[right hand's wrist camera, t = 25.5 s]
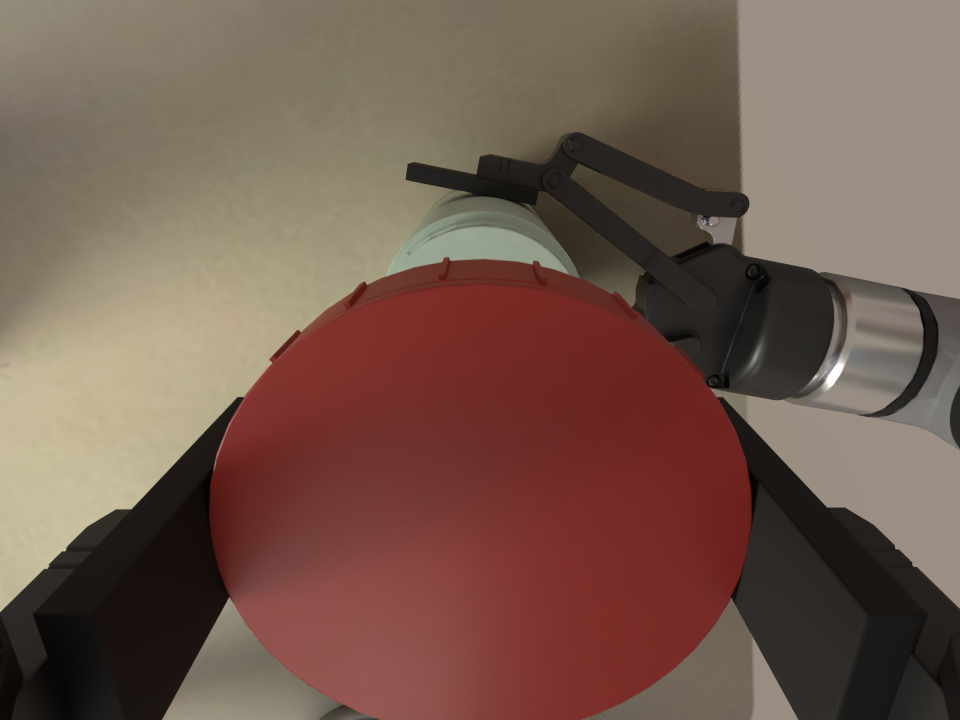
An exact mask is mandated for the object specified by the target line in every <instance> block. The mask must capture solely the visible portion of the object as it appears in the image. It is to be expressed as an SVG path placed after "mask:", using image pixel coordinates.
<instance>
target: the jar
mask: <svg viewBox="0 0 960 720" xmlns="http://www.w3.org/2000/svg"><path fill="white" fill-rule="evenodd" d="M445 257H449V258H450V261H453V260H472V259H492V260H505V261H518V262H523V263H528V264H533V261H539V263H540V265H541V266H542V267H546V268H551V269H554V270H557V271H560V272H563V273H566V274H569V275H571V276H574V277H577V278H579V275H578V273H577V271H576V268H575V266H574V264H573V263H572V261H571V259H570V257H569V256H568V254H567V253H566V252H565V250H564V249H563V248H562V246H561V245H560V244H559V242H558V241H557V240H556V238H555V237H554V236H553V235H552V233H551V232H550V231H549V229H548V228H547V227H546V225H545V224H544V223H543V221H542V220H541V219H540V218H539V216H538V215H537V214H536V212H535V211H534V210H533V209H532V207H531V206H530V205H529V204H524V203H519V202H514V201H509V200H504V199H499V198H494V197H489V196H484V195H479V194H474V193H469V192H464V191H459V190H456V191H454V192H452V193H450V194H448V195H447V196H445V197H444V198H442V199H441V200H440V201H439V202H437V203H436V204H435V205H434V206H433V207H432V209H431V210H430V211H429V212H428V213H427V215H426V216H425V217H424V219H423V220H422V221H421V223H420V224H419V226H418V227H417V228H416V230H415V231H414V232H413V234H412V235H411V236H410V238H409V239H408V240H407V242H406V243H405V244H404V246H403V247H402V248H401V250H400V251H399V252H398V254H397V256H396V257H395V259H394V260H393V262H392V263H391V266H390V268H389V270H388V272H387V274H386V276H389V275H392V274H395V273H398V272H401V271H404V270H407V269H411V268H414V267H418V266H423V265H429V264H434V263H439V262H443V259H444V258H445Z"/></svg>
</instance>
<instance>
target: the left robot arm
mask: <svg viewBox="0 0 960 720" xmlns="http://www.w3.org/2000/svg"><path fill="white" fill-rule="evenodd" d="M578 163H579V164H581V165H584V166H586V167H588V168H590V169H592V170H594V171H597V172H599V173H601V174H603V175H605V176H608V177H610V178H612V179H614V180H616V181H619V182H621V183H623V184H625V185H627V186H629V187H632V188H634V189H636V190H638V191H640V192H643V193H645V194H647V195H649V196H651V197H654V198H656V199H658V200H660V201H662V202H664V203H667V204H669V205H671V206H674V207H676V208H679V209H682V210H685V211H688V212H691V213H692V215H691V221H692V224H693V225H694V226H695V227H697V228H699V229H702V230H704V231H705V233H706V235H707V241H706V242H704V243H701V244H699V245H697V246H695V247H692V248H690V249H688V250H686V251H683V252H681V253H679V254H677V255H674V256H672V257H670V258H669V257H668V256H667V255H666V254H665V253H663V252H662V251H661V250H659V249H658V248H657V247H655V246H654V245H653V244H651V243H650V242H649V241H648V240H647V239H645V238H644V237H643V236H642V235H640V234H639V233H638V232H637V231H635V230H634V229H633V228H632V227H631V226H629V225H628V224H627V223H626V222H624V221H623V220H622V219H621V218H619V217H618V216H617V215H616V214H615V213H613V212H612V211H611V210H610V209H608V208H607V207H606V206H605V205H603V204H602V203H601V202H600V201H598V200H597V199H596V198H595V197H594V196H592V195H591V194H590V193H589V192H587V191H586V190H585V189H584V188H582V187H581V186H580V185H579V184H578V183H576V182H575V181H574V180H573V179H571V178H570V175H571V174H572V172H573V170H574V169H575V167H576V166H577V164H578ZM406 180H409V181H414V182H419V183H424V184H429V185H434V186H439V187H444V188H449V189H454V190H459V191H464V192H469V193H474V194H479V195H484V196H489V197H494V198H499V199H504V200H509V201H514V202H519V203H524V204H529V205H534V206H535V205H536V200H537V196H538V191H544V192H548V193H549V194H550V195H552V196H553V197H554V198H555V199H557V200H558V201H559V202H560V203H562V204H563V205H564V206H565V207H567V208H568V209H569V210H570V211H572V212H573V213H574V214H575V215H577V216H578V217H579V218H580V219H582V220H583V221H584V222H585V223H587V224H588V225H589V226H591V227H592V228H593V229H594V230H596V231H597V232H598V233H599V234H601V235H602V236H603V237H604V238H606V239H607V240H608V241H609V242H611V243H612V244H613V245H614V246H616V247H617V248H618V249H619V250H621V251H622V252H623V253H624V254H626V255H627V256H628V257H629V258H631V259H632V260H633V261H634V262H636V263H637V264H638V265H640V266H641V267H642V268H643V269H645V270H646V272H645V273H644V275H643V276H642V275H640V276H639V279H638V283H637V286H636V302H635V304H634V306H633V307H632V309H634V310H635V311H636V312H638V313H639V314H641V315H642V316H643V317H644V318H645V319H646V320H647V321H648V322H649V323H650V324H651V325H652V326H653V327H654V328H655V329H656V330H657V331H658V332H659V333H660V334H662V335H663V336H664V338H665V339H666V340H667V341H668V342H669V343H670V344H671V345H672V346H674V345H677V346H678V347H679V348H680V349H681V350H682V351H683V352H684V353H685V354H686V355H687V357H688V358H689V359H690V360H691V361H692V362H693V363H694V364H695V365H696V366H697V367H698V368H699V369H700V370H701V371H702V372H703V373H704V375H705V377H704V378H702V379H703V380H704V382H705V383H706V384H707V386H708V387H709V388H713V389H717V390H721V391H727V392H732V393H738V394H743V395H749V396H754V397H760V398H766V399H771V400H783V399H784V400H785V401H787V402H790V403H792V404H797V405H803V406H809V407H815V408H821V409H827V410H833V411H839V412H845V413H852V414H857V415H860V416H865V417H873V418H878V419H883V420H888V421H894V422H898V423H903V424H908V425H913V426H916V427H919V428H922V429H925V430H928V431H930V432H932V433H934V434H935V435H937V436H938V437H940V438H941V439H943V440H944V441H946V442H948V443H949V444H951V445H952V446H954V447H955V448H957V449H958V450H960V299H956V298H950V297H944V296H939V295H933V294H928V293H922V292H917V291H911V290H908V289H905V288H900V287H896V286H891V285H886V284H881V283H876V282H871V281H867V280H862V279H857V278H852V277H847V276H842V275H837V274H832V273H826V272H822V273H817V272H816V271H814V270H812V269H808V268H803V267H798V266H793V265H788V264H783V263H778V262H773V261H768V260H763V259H758V258H753V257H748V256H744V255H742V254H741V253H740V252H739V251H738V250H737V249H736V248H735V247H733V246H732V241H733V236H734V231H735V226H736V221H737V217H741V216H742V215H744V214H745V213H746V212H747V210H748V208H749V200H748V197H747V196H746V195H745V194H741V193H737V192H732V191H727V190H722V189H706V188H698V187H696V186H694V185H692V184H690V183H687V182H685V181H683V180H681V179H679V178H677V177H675V176H672V175H670V174H668V173H666V172H664V171H662V170H660V169H657V168H655V167H653V166H651V165H649V164H647V163H644V162H642V161H640V160H638V159H636V158H634V157H632V156H629V155H627V154H625V153H623V152H621V151H619V150H617V149H614V148H612V147H610V146H608V145H606V144H604V143H601V142H599V141H597V140H595V139H593V138H591V137H589V136H586V135H584V134H582V133H578V132H575V133H567V134H564V135H563V136H562V137H561V138H560V139H559V142H558V144H557V146H556V148H555V149H554V151H553V153H552V154H551V156H550V157H549V158H548V159H547V160H546V161H544V162H542V163H531V162H526V161H521V160H516V159H511V158H506V157H501V156H497V155H492V154H489V155H484V156H480V159H479V165H478V170H477V175H475V174H471V173H466V172H461V171H456V170H451V169H446V168H441V167H436V166H431V165H426V164H421V163H416V162H413V163H409V164H408V167H407V174H406ZM320 720H380V719H377V718H374V717H371V716H369V715H366V714H363V713H360V712H358V711H356V710H354V709H352V708H350V707H347V706H343V707H340V708H338V709H336V710H334V711H332V712H330V713H328V714H327V715H325V716H324V717H323V718H321V719H320Z"/></svg>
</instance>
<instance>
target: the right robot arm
mask: <svg viewBox="0 0 960 720" xmlns="http://www.w3.org/2000/svg"><path fill="white" fill-rule="evenodd" d="M717 398H718V400H719V401H720V403H721V405H722V407H723V409H724V410H725V412H726V414H727V416H728V418H729V419H730V421H731V423H732V425H733V427H734V428H735V431H736V433H737V436H738V439H739V442H740V445H741V447H742V450H743V453H744V456H745V459H746V463H747V468H748V474H749V479H750V485H751V490H752V526H751V532H750V537H749V543H748V548H747V553H746V557H745V562H744V566H743V569H742V573H741V576H740V579H739V581H738V583H737V585H736V588H735V590H734V592H733V594H732V596H731V598H732V600H733V601H734V603H735V605H736V607H737V609H738V611H739V612H740V614H741V616H742V618H743V620H744V621H745V623H746V625H747V627H748V629H749V631H750V632H751V634H752V636H753V638H754V640H755V641H756V643H757V645H758V647H759V649H760V651H761V652H762V654H763V656H764V658H765V660H766V662H767V663H768V665H769V667H770V669H771V671H772V672H773V674H774V676H775V678H776V680H777V681H778V683H779V685H780V687H781V689H782V690H783V692H784V694H785V696H786V698H787V700H788V702H789V703H790V705H791V707H792V709H793V711H794V712H795V714H796V716H797V718H798V720H960V609H959V608H958V607H957V606H956V605H955V604H954V603H953V602H952V601H951V600H950V599H949V598H948V597H947V596H946V595H945V594H944V593H943V592H942V591H941V590H940V589H939V588H938V587H937V586H936V585H935V584H934V583H933V582H932V581H931V580H930V579H929V578H928V577H927V576H926V575H924V573H922V572H921V571H920V570H919V569H918V568H917V567H913V565H912V562H911V561H910V560H909V559H908V558H907V557H906V556H905V555H904V554H903V553H902V552H901V551H900V550H896V549H895V545H894V544H893V543H892V542H891V541H890V540H889V539H888V538H887V537H886V536H885V535H884V534H882V532H880V531H879V530H878V529H877V528H876V527H875V526H874V525H873V524H871V523H870V522H868V521H866V520H865V519H863V518H861V517H860V516H858V515H856V514H855V513H853V512H851V511H850V510H848V509H846V508H827V507H826V506H825V505H824V504H823V503H822V502H821V501H820V500H819V499H818V497H817V496H816V495H815V494H814V493H813V492H812V491H811V490H810V489H809V488H808V487H807V486H806V485H805V484H804V483H803V482H802V481H801V479H800V478H799V477H798V476H797V475H796V474H795V473H794V472H793V471H792V470H791V469H790V468H789V467H788V466H787V465H786V464H785V463H784V462H783V460H782V459H781V458H780V457H779V456H778V455H777V454H776V453H775V452H774V451H773V450H772V449H771V448H770V447H769V446H768V445H767V444H766V442H765V441H764V440H763V439H762V438H761V437H760V436H759V435H758V434H757V433H756V432H755V431H754V430H753V429H752V428H751V427H750V426H749V424H748V423H747V422H746V421H745V420H744V419H743V418H742V417H741V416H740V415H739V414H738V413H737V412H736V411H735V410H734V409H733V408H732V406H731V405H730V404H729V403H728V402H727V401H726V400H725V399H724V398H723V397H717ZM243 399H244V397H237V398H236V399H235V401H234V402H233V403H232V404H231V405H230V406H229V407H228V408H227V409H226V410H225V411H224V412H223V413H222V414H221V415H220V416H219V417H218V419H217V420H216V421H215V422H214V423H213V424H212V425H211V426H210V427H209V428H208V429H207V430H206V431H205V432H204V433H203V434H202V435H201V437H200V438H199V439H198V440H197V441H196V442H195V443H194V444H193V445H192V446H191V447H190V448H189V449H188V450H187V451H186V452H185V453H184V455H183V456H182V457H181V458H180V459H179V460H178V461H177V462H176V463H175V464H174V465H173V466H172V467H171V468H170V469H169V470H168V471H167V473H166V474H165V475H164V476H163V477H162V478H161V479H160V480H159V481H158V482H157V483H156V484H155V485H154V486H153V487H152V488H151V489H150V490H149V492H148V493H147V494H146V495H145V496H144V497H143V498H142V499H141V500H140V501H139V502H138V503H137V504H136V505H135V506H134V507H133V508H132V509H116V510H114V511H113V512H111V513H109V514H108V515H106V516H104V517H103V518H101V519H99V520H98V521H96V522H94V523H93V524H91V525H89V526H88V527H87V528H86V529H85V530H83V531H82V532H81V533H80V534H79V535H78V536H77V537H76V538H75V539H74V540H73V541H72V542H71V543H70V544H69V545H68V546H67V547H66V551H62V552H61V553H60V554H59V555H58V556H57V557H56V558H55V559H54V560H53V561H52V562H51V563H50V564H49V568H48V569H44V570H43V571H42V572H41V573H40V574H39V575H38V576H37V577H36V578H35V579H34V580H33V581H32V582H31V583H30V584H29V585H28V586H27V587H26V588H24V589H23V590H22V591H21V592H20V593H19V594H18V595H17V596H16V597H15V598H14V599H13V600H12V601H11V602H10V603H9V604H8V605H7V606H6V607H5V608H4V609H3V610H2V611H1V612H0V720H162V719H163V717H164V715H165V713H166V711H167V710H168V708H169V706H170V704H171V702H172V700H173V699H174V697H175V695H176V693H177V691H178V689H179V688H180V686H181V684H182V682H183V680H184V679H185V677H186V675H187V673H188V671H189V669H190V668H191V666H192V664H193V662H194V660H195V659H196V657H197V655H198V653H199V651H200V649H201V648H202V646H203V644H204V642H205V640H206V639H207V637H208V635H209V633H210V631H211V629H212V628H213V626H214V624H215V622H216V620H217V618H218V617H219V615H220V613H221V611H222V609H223V608H224V606H225V604H226V602H227V600H228V598H229V597H230V596H229V594H228V592H227V589H226V587H225V585H224V582H223V580H222V578H221V575H220V573H219V570H218V566H217V562H216V558H215V554H214V549H213V544H212V539H211V532H210V523H209V499H210V483H211V478H212V474H213V469H214V465H215V460H216V455H217V452H218V450H219V447H220V444H221V442H222V439H223V437H224V434H225V432H226V429H227V427H228V424H229V422H230V421H231V419H232V417H233V416H234V414H235V412H236V411H237V409H238V407H239V405H240V404H241V402H242V400H243Z"/></svg>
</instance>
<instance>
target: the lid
mask: <svg viewBox="0 0 960 720" xmlns="http://www.w3.org/2000/svg"><path fill="white" fill-rule="evenodd" d="M269 360H270V361H271V362H272V364H271V365H270V366H269V367H268V369H267V370H266V371H265V372H264V373H263V375H262V376H261V377H260V378H259V379H258V381H257V382H256V383H255V384H254V386H253V387H252V388H251V389H250V390H249V392H248V393H247V394H246V395H245V397H244V399H243V400H242V402H241V404H240V405H239V407H238V409H237V411H236V412H235V414H234V416H233V417H232V419H231V421H230V422H229V424H228V427H227V429H226V432H225V434H224V437H223V439H222V442H221V444H220V447H219V450H218V452H217V455H216V460H215V465H214V469H213V474H212V478H211V483H210V499H209V523H210V532H211V539H212V544H213V549H214V554H215V558H216V562H217V566H218V570H219V573H220V575H221V578H222V580H223V582H224V585H225V587H226V589H227V592H228V594H229V596H230V599H231V600H232V602H233V604H234V605H235V607H236V609H237V610H238V612H239V614H240V615H241V617H242V619H243V620H244V622H245V623H246V625H247V626H248V627H249V629H250V630H251V631H252V632H253V634H254V635H255V636H256V637H257V638H258V640H259V641H260V642H261V643H262V645H263V646H264V647H265V648H266V649H267V650H268V651H269V652H270V653H271V654H272V655H273V656H274V657H275V658H276V659H277V660H278V661H279V662H280V663H281V664H283V665H284V666H285V667H286V668H287V669H288V670H290V671H291V672H292V673H294V674H295V675H296V676H298V677H299V678H300V679H301V680H303V681H304V682H305V683H307V684H308V685H310V686H311V687H313V688H315V689H316V690H318V691H320V692H321V693H323V694H324V695H326V696H328V697H329V698H331V699H333V700H335V701H337V702H339V703H341V704H343V705H345V706H347V707H350V708H352V709H354V710H356V711H358V712H360V713H363V714H366V715H369V716H371V717H374V718H377V719H380V720H581V719H584V718H587V717H590V716H593V715H596V714H598V713H601V712H603V711H605V710H607V709H610V708H612V707H614V706H616V705H619V704H621V703H623V702H625V701H626V700H628V699H630V698H632V697H633V696H635V695H637V694H639V693H640V692H642V691H644V690H646V689H647V688H649V687H650V686H651V685H653V684H654V683H656V682H657V681H658V680H660V679H661V678H662V677H664V676H665V675H667V674H668V673H669V672H671V671H672V670H673V669H674V668H675V667H676V666H677V665H678V664H680V663H681V662H682V661H683V660H684V659H685V658H686V657H687V656H688V655H689V654H690V653H692V652H693V651H694V649H695V648H696V647H697V646H698V645H699V643H700V642H701V641H702V640H703V639H704V638H705V636H706V635H707V634H708V633H709V632H710V631H711V629H712V628H713V626H714V625H715V623H716V622H717V620H718V619H719V617H720V616H721V614H722V612H723V611H724V609H725V608H726V606H727V605H728V603H729V600H730V598H731V596H732V594H733V592H734V590H735V588H736V585H737V583H738V581H739V579H740V576H741V573H742V569H743V566H744V562H745V557H746V553H747V548H748V543H749V537H750V532H751V526H752V490H751V485H750V479H749V474H748V468H747V463H746V459H745V456H744V453H743V450H742V447H741V445H740V442H739V439H738V436H737V433H736V431H735V428H734V427H733V425H732V423H731V421H730V419H729V418H728V416H727V414H726V412H725V410H724V409H723V407H722V405H721V403H720V401H719V400H718V398H717V397H716V396H715V395H714V393H713V392H712V391H711V389H710V388H709V387H708V386H707V384H706V383H705V382H704V380H703V379H702V378H704V377H705V375H704V373H703V372H702V371H701V370H700V369H699V368H698V367H697V366H696V365H695V364H694V363H693V362H692V361H691V360H690V359H689V358H688V357H687V355H686V354H685V353H684V352H683V351H682V350H681V349H680V348H679V347H678V346H677V345H674V346H672V345H671V344H670V343H669V342H668V341H667V340H666V339H665V338H664V336H663V335H662V334H660V333H659V332H658V331H657V330H656V329H655V328H654V327H653V326H652V325H651V324H650V323H649V322H648V321H647V320H646V319H645V318H644V317H643V316H642V315H641V314H639V313H638V312H636V311H635V310H634V309H632V308H631V307H630V305H629V304H628V303H627V302H626V301H625V300H624V299H623V298H622V297H621V296H620V294H618V293H617V292H614V293H613V295H612V294H610V293H608V292H606V291H604V290H602V289H600V288H599V287H597V286H595V285H593V284H591V283H589V282H587V281H585V280H583V279H580V278H577V277H574V276H571V275H569V274H566V273H563V272H560V271H557V270H554V269H551V268H546V267H542V266H541V265H540V263H539V261H533V264H528V263H523V262H518V261H505V260H492V259H472V260H453V261H450V258H449V257H445V258H444V259H443V262H439V263H434V264H429V265H423V266H418V267H414V268H411V269H407V270H404V271H401V272H398V273H395V274H392V275H389V276H386V277H383V278H381V279H379V280H377V281H375V282H373V283H371V284H368V285H367V284H366V283H365V282H362V283H360V284H359V286H358V287H357V288H356V289H355V290H354V291H353V292H352V293H351V294H349V295H348V296H346V297H345V298H343V299H342V300H340V301H339V302H337V303H336V304H334V305H333V306H331V307H330V308H328V309H327V310H325V311H324V312H323V313H322V314H321V315H320V316H319V317H318V318H317V319H315V320H314V321H313V322H312V323H311V324H310V325H309V326H308V327H307V328H305V329H304V330H303V331H302V332H300V331H299V330H297V331H296V332H295V333H294V334H293V335H292V336H291V337H290V338H289V339H288V340H287V341H286V342H285V343H284V345H283V346H282V347H281V348H280V349H279V350H278V351H277V352H276V353H275V354H274V355H273V356H272V357H271V358H270V359H269Z"/></svg>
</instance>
